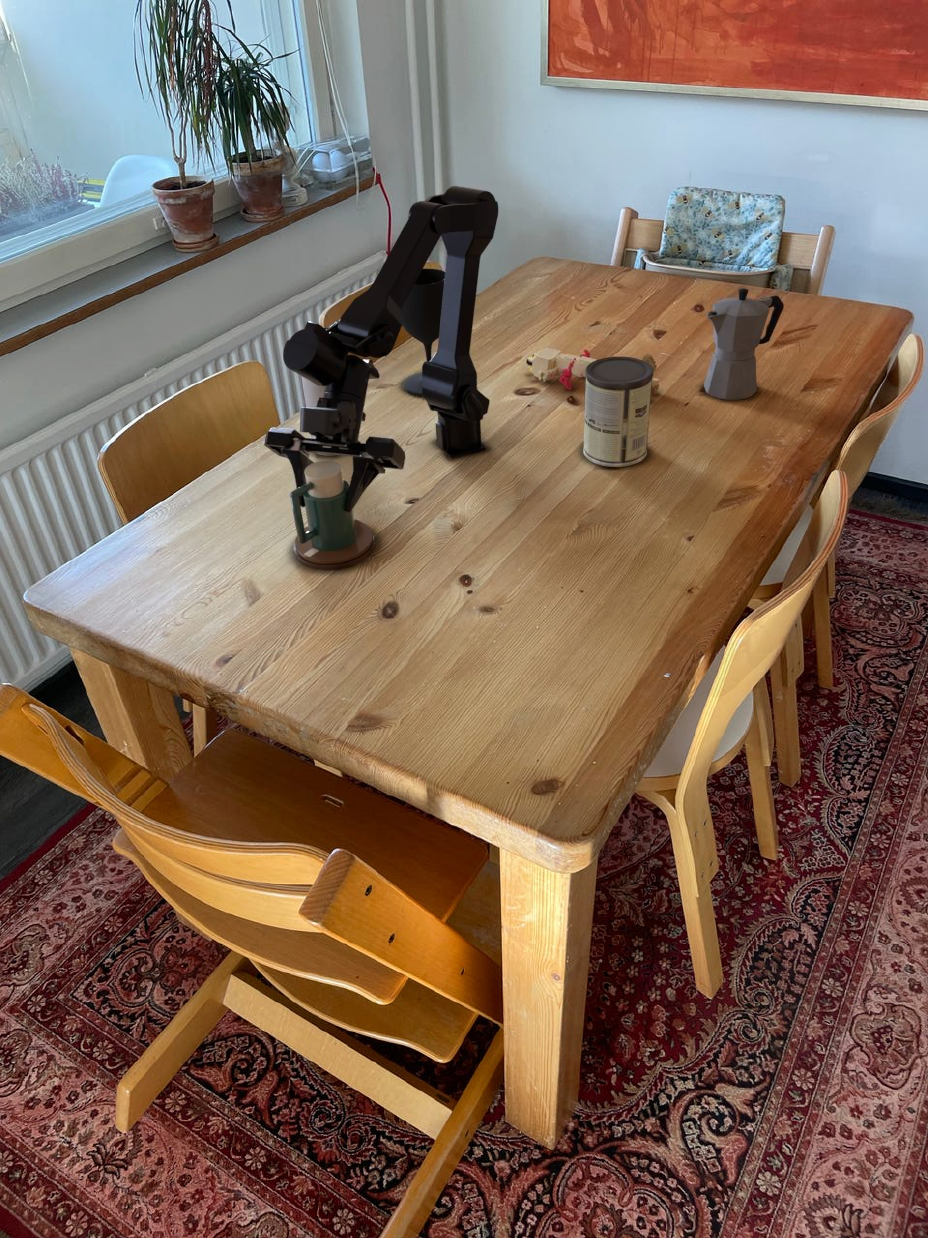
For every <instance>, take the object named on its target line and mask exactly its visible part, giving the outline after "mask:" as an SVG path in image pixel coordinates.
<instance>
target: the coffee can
mask: <svg viewBox="0 0 928 1238" xmlns="http://www.w3.org/2000/svg"><path fill="white" fill-rule="evenodd" d="M595 360H596V361H593V362H591V363H590V364H589V365H588V366H587V367H586V369H585V375H586V377H585V396H584V398H585V399H584V428H583V429H584V431H583V432H584V435H583V448H582V453H583V455H584V457H585V458H586V459H587V460H588V461H590V462H591V463H593V464H595V465H598V466H601V467H602V466H603V467H606V468H607V467H609V468H621V467H622V468H623V467H631V466H634V465H636V464H638V463H641V461H643V460H644V459H645V458H646V457H647V454H648V450H647V449H648V438H649V427H650V426H649V425H650V412H651V402H652V401H651V399H652V394H651V388H652V379H653V378H654V374H655V373H654V372H655V371H654V369H653V367H652V366H651V365H650V364H649V363H647V362H645V361H643V359H640V358H636V357H631V356H608V357H603V358H599V359H595Z"/></svg>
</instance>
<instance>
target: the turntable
mask: <svg viewBox="0 0 928 1238" xmlns="http://www.w3.org/2000/svg"><path fill="white" fill-rule="evenodd" d="M372 534H373V542H372V544H371V546H370V548H369V549H368V550H367V551H366V552H365V553H363V554H362V555H360V556H358V557H356V558H354V559H352V560H349V561H346V562H341V563H334V564H321V563H314V562H311V561H308V560H306V559H304V558H302V557H301V556H300V555H299V554H298V553H297V551H296V548H295V541H294V543H293V547H292V549H293V554H294V557H295V559H296V560H297V562H299V564H301V565H303V566H304V567H306V568H309V569H312V570H317V571H339V570H343V569H349V568H351V567H354V566H357V565H360V564H361V563H363V562H364V561H366V560H367V559H369V558H370V557H371V555H372V554H373V553H374V551H375V549H376V546H377V542H376V536H375V533H374V532H373V531H372Z"/></svg>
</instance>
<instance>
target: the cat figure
mask: <svg viewBox="0 0 928 1238" xmlns="http://www.w3.org/2000/svg"><path fill="white" fill-rule="evenodd" d="M596 360H597V359H596V358H592V357H591V352H590V351H589V350H588V349H584V350H583V354H582V353H581V354H580V356H578V355H574V354H571V353H566V354H565V353H562V351H560V350H559V349H554V348H551V347H548V346H547V347H543V348H542V349H541V350H540V351H538V352H537V351H536V352H535V353H533V354H532V356H529V357H528V358H527V359H526V361H525V363H526V364H524V368H527V370H528V373H530V374H532V375H533V376H534V377H537V378H538V381H543V382H546V381H548V380H551V379H553V377H555V376H556V375H557V374H561V376H560V377H559V380H558V381H559V383H561V384H563V385H564V387H565V388H566V389H567V390H573V389H572V388H573V387H572V386H571V385H572V384H571V379H572V376H575V377H578V378H581V379H585V378H586V375H585V369H586V367H587V366H588V365H589V364H590V363H591V362H593V361H596ZM642 360H643V361H645V362H647V363H649V364H650V365H651V366H652V367H653V369H654V372H655V371H657V364H656V360H655V358H654V356H652V354H648V353H646V354H644V356H642ZM659 389H660V379H659V378H656V377H653V378H652V388H651V396H656V395H657V393H658V390H659Z"/></svg>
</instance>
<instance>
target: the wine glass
mask: <svg viewBox="0 0 928 1238" xmlns="http://www.w3.org/2000/svg"><path fill="white" fill-rule="evenodd" d="M444 279H445V270H442V269H438V268H423V269H422V271H421V273H420V275H419V277H418V279H417V280H416V282H415V284H414V286H413V288H412V290H411V291H410V293H409V295H408V297H407V299H406V301H405V303H404V305H403V308H402V328H403V329H404V331H405V332H406V333H407V334H409V336H411V337H412V338H413V339H415V340H417V341H418V342H420V343H421V344H422V345H423V347H424V352H425V358H426V362H430V360H431V359H432V347H433V344H434V342H436V341H438V340H439V330H440V320H441V310H442V300H443V289H444ZM421 380H422V372H419V373H415V374H413V375H410V376H408V377H407V378H406V379H405V380H404V381H403V384H402V385H403V390H404V391H406V392H407V393H409V394H410V395H413V396H417V397H423V395H422V388H421V387H420V383H421Z"/></svg>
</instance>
